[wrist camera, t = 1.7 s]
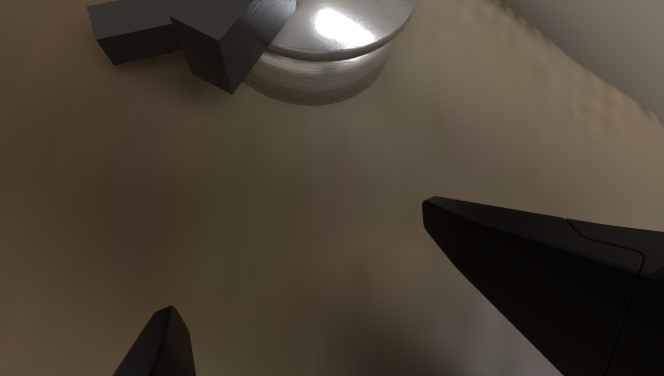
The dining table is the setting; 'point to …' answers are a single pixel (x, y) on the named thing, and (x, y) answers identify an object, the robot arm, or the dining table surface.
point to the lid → (281, 32)
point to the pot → (266, 75)
